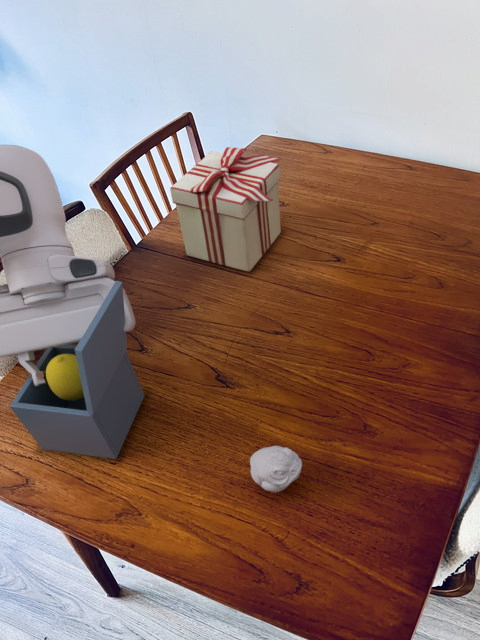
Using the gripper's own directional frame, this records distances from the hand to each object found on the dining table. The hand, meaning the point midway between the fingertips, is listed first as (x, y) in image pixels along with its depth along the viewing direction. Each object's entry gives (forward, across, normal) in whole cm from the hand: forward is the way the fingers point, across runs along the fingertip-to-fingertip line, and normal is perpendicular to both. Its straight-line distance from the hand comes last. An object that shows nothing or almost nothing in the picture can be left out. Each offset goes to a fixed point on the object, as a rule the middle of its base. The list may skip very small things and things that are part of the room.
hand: (68, 379), depth 69 cm
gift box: (-19, +30, +34) cm, 49 cm away
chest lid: (-3, +6, -6) cm, 9 cm away
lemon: (+3, 0, +4) cm, 5 cm away
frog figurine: (+19, +24, -4) cm, 31 cm away
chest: (+7, 0, +8) cm, 11 cm away
